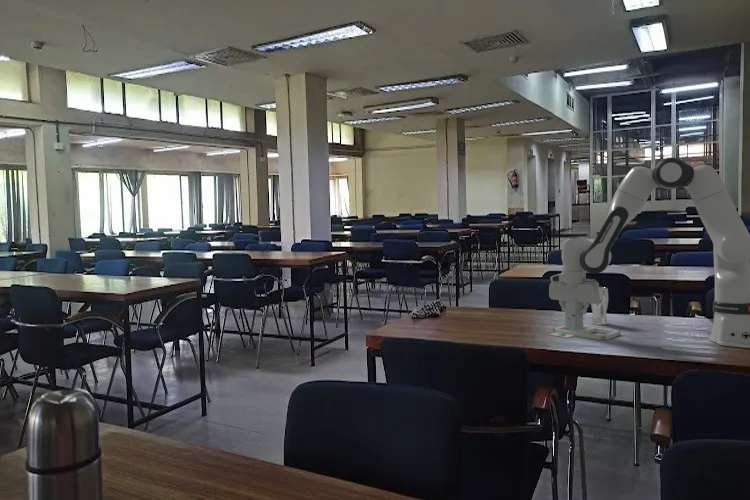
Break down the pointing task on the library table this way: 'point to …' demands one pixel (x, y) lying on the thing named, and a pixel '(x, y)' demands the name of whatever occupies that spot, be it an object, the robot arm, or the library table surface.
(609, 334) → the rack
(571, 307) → the skincare box
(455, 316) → the library table surface
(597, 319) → the beer glass
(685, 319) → the library table surface
